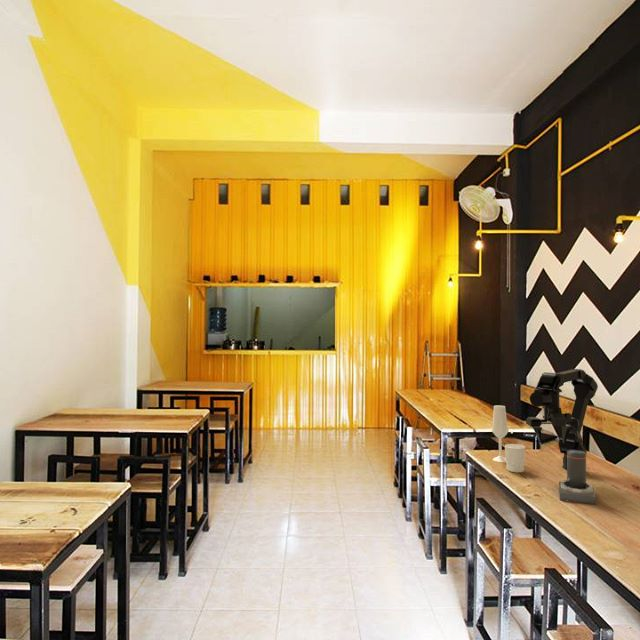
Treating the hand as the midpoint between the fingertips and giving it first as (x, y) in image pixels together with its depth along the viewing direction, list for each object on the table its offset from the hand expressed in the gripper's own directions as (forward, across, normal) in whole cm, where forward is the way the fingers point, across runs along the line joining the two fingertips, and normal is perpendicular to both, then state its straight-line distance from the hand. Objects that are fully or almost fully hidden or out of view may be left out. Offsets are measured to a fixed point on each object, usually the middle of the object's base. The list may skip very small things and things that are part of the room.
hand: (552, 443), depth 198 cm
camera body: (+13, -2, -23) cm, 26 cm away
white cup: (+13, -12, +8) cm, 20 cm away
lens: (+10, -2, -23) cm, 25 cm away
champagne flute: (+13, -13, +23) cm, 30 cm away
